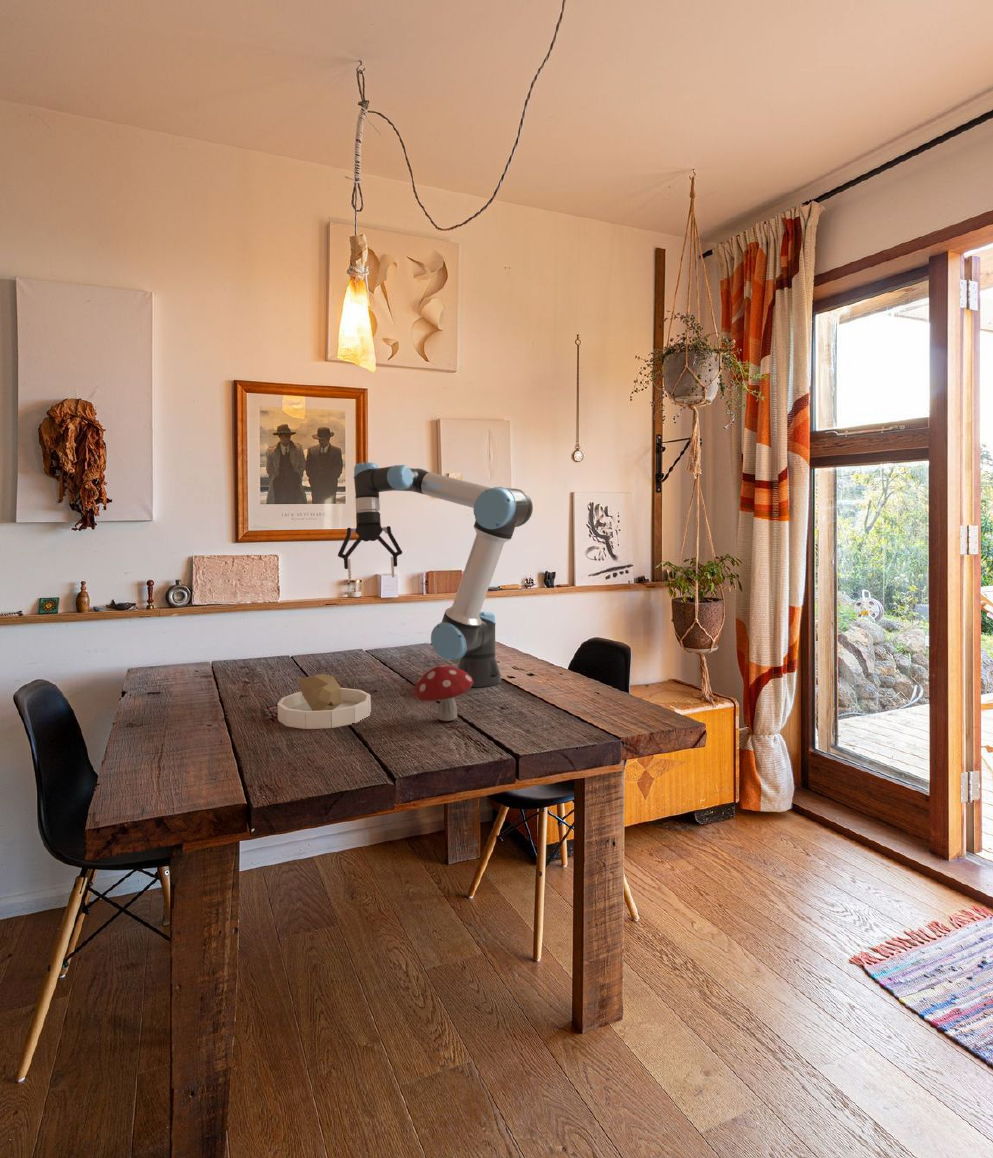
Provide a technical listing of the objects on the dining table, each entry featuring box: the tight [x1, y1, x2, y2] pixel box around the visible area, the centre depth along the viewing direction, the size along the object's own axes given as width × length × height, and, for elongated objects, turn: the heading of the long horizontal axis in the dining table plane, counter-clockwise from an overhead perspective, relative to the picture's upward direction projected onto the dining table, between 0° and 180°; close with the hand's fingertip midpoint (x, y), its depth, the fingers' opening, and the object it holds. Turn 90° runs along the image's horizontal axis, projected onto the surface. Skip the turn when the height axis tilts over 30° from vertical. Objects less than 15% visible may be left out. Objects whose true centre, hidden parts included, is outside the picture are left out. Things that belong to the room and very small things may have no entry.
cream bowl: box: [276, 687, 372, 730], centre depth 188 cm, size 24×24×4 cm
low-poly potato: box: [298, 673, 342, 711], centre depth 188 cm, size 15×11×12 cm
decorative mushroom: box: [413, 665, 474, 722], centre depth 181 cm, size 16×16×15 cm
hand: (371, 578), depth 221 cm, fingers open, 13 cm apart
